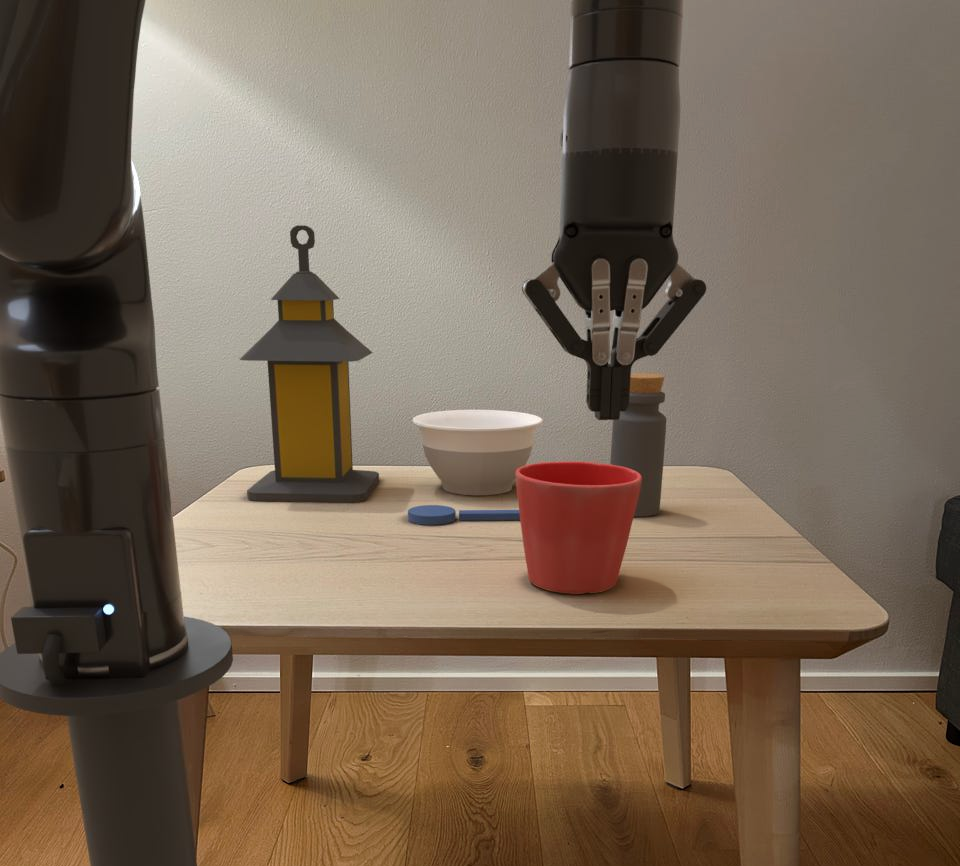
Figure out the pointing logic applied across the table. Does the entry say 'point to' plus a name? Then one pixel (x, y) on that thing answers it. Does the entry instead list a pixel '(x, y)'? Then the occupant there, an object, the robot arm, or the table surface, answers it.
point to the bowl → (477, 448)
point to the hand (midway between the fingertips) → (607, 418)
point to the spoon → (448, 515)
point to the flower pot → (576, 523)
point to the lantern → (310, 394)
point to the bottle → (642, 439)
